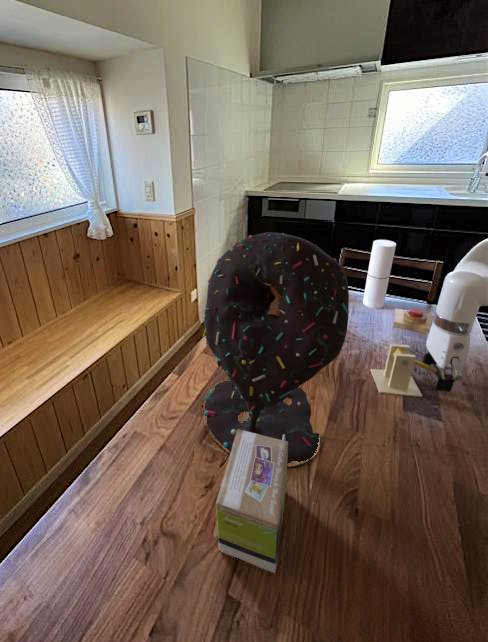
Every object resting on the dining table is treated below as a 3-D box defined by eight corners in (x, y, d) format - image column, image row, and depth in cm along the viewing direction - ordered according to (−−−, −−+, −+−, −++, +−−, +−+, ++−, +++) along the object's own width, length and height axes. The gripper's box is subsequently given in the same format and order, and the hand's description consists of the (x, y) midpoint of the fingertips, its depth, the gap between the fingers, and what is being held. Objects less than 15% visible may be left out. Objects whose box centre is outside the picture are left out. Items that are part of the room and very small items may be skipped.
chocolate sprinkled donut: (325, 491, 67) (357, 293, 49) (179, 439, 80) (162, 267, 62) (334, 389, 92) (358, 231, 73) (221, 361, 105) (217, 222, 86)
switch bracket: (408, 375, 94) (417, 341, 89) (421, 399, 86) (432, 363, 82) (369, 372, 97) (376, 338, 92) (378, 395, 89) (387, 359, 84)
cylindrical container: (365, 307, 128) (376, 246, 117) (360, 298, 134) (371, 239, 124) (385, 309, 126) (398, 246, 116) (380, 299, 132) (392, 239, 122)
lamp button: (421, 313, 115) (422, 309, 115) (422, 318, 113) (423, 314, 112) (409, 311, 117) (410, 307, 116) (409, 316, 114) (410, 312, 114)
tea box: (237, 475, 71) (237, 425, 65) (286, 491, 68) (291, 439, 62) (217, 554, 59) (214, 501, 52) (276, 578, 55) (280, 525, 49)
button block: (433, 320, 117) (436, 311, 116) (435, 336, 110) (438, 325, 108) (393, 313, 123) (395, 303, 121) (392, 327, 115) (395, 317, 114)
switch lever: (432, 369, 90) (438, 363, 89) (440, 382, 85) (447, 376, 84) (390, 350, 90) (396, 344, 89) (396, 363, 86) (403, 356, 85)
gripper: (492, 344, 72) (469, 405, 79) (453, 304, 88) (436, 357, 95) (452, 342, 74) (433, 401, 81) (420, 302, 89) (407, 355, 96)
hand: (435, 377), depth 88 cm, fingers open, 8 cm apart
